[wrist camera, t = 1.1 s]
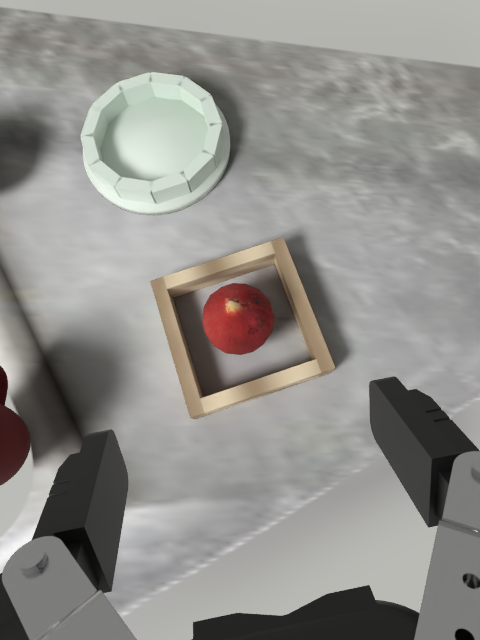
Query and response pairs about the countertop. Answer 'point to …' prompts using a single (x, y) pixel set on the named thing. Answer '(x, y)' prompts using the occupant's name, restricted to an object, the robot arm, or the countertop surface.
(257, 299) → the onion
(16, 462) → the mug
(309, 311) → the holder
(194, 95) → the dish
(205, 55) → the countertop surface
